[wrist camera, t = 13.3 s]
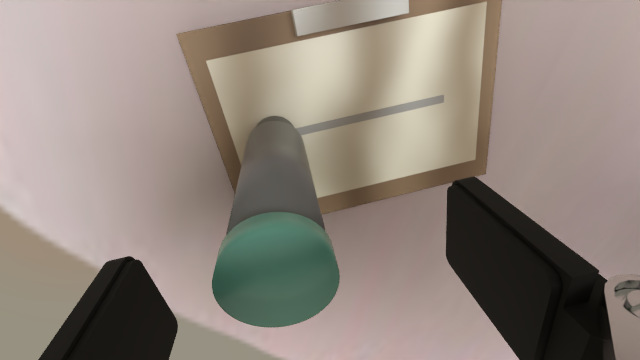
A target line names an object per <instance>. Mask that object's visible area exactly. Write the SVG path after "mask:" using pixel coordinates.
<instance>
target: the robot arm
mask: <svg viewBox="0 0 640 360" xmlns="http://www.w3.org/2000/svg"><path fill="white" fill-rule="evenodd" d="M446 257H447V260H448V262H449V264H450V266H451V267H452V269H453V270H454V271H455V273H456V274H457V275H458V277H459V278H460V279H461V281H462V282H463V283H464V285H465V286H466V288H467V289H468V290H469V292H470V293H471V294H472V296H473V297H474V298H475V300H476V301H477V303H478V304H479V305H480V307H481V308H482V309H483V311H484V312H485V313H486V315H487V316H488V317H489V319H490V320H491V322H492V323H493V324H494V326H495V327H496V328H497V330H498V331H499V332H500V334H501V335H502V336H503V338H504V339H505V341H506V342H507V343H508V345H509V346H510V347H511V349H512V350H513V351H514V353H515V354H516V356H517V357H518V358H519V360H640V276H639V275H632V274H631V275H618V276H615V277H612V278H610V279H609V280H608V281H607V280H606V279H605V278H604V277H602V276H601V275H600V274H598V273H599V270H598V269H596V268H595V267H594V266H592V265H591V264H590V263H588V262H587V261H586V260H584V259H583V258H582V257H581V256H579V255H578V254H577V253H575V252H574V251H573V250H571V249H570V248H569V247H567V246H566V245H565V244H563V243H562V242H561V241H559V240H558V239H557V238H555V237H554V236H553V235H551V234H550V233H549V232H547V231H546V230H545V229H544V228H542V227H541V226H540V225H538V224H537V223H536V222H534V221H533V220H532V219H530V218H529V217H528V216H526V215H525V214H524V213H522V212H521V211H520V210H518V209H517V208H516V207H514V206H513V205H512V204H510V203H509V202H508V201H506V200H505V199H504V198H503V197H501V196H500V195H499V194H497V193H496V192H495V191H493V190H492V189H491V188H489V187H488V186H487V185H485V184H484V183H483V182H481V181H480V180H479V179H477V178H476V177H468V178H464V179H459V180H455V181H454V182H453V183H452V186H450V187H449V188H448V190H447V228H446ZM177 328H178V325H177V320H176V318H175V316H174V314H173V313H172V311H171V310H170V308H169V306H168V305H167V303H166V301H165V300H164V298H163V297H162V295H161V293H160V292H159V290H158V288H157V287H156V285H155V284H154V282H153V280H152V279H151V277H150V275H149V274H148V272H147V271H146V269H145V267H144V266H143V264H142V263H141V261H139V260H135V259H134V258H133V257H129V256H128V257H124V258H119V259H115V260H111V261H108V262H106V263H105V264H104V266H103V267H102V269H101V270H100V272H99V273H98V275H97V276H96V277H95V279H94V281H93V282H92V283H91V285H90V286H89V288H88V289H87V290H86V292H85V293H84V295H83V296H82V298H81V299H80V301H79V302H78V303H77V305H76V306H75V308H74V309H73V311H72V312H71V314H70V315H69V316H68V318H67V320H66V321H65V322H64V324H63V325H62V326H61V328H60V329H59V331H58V332H57V334H56V335H55V337H54V338H53V340H52V341H51V342H50V344H49V345H48V347H47V348H46V350H45V351H44V353H43V354H42V355H41V357H40V358H39V360H169V357H170V353H171V350H172V347H173V343H174V340H175V337H176V333H177Z"/></svg>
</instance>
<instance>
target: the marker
mask: <svg viewBox="0 0 640 360" xmlns="http://www.w3.org/2000/svg"><path fill="white" fill-rule="evenodd" d="M339 278H340V276H339V269H338V265H337V261H336V258H335V254H334V250H333V246H332V243H331V240H330V238H329V236H328V235H327V233H326V232H325V227H324V223H323V219H322V215H321V211H320V207H319V203H318V199H317V195H316V191H315V187H314V183H313V179H312V175H311V170H310V166H309V162H308V158H307V154H306V150H305V146H304V142H303V139H302V137H301V135H300V133H299V132H298V131H297V130H296V129H295V128H294V126H293V125H292V123H291V122H290V121H288V120H287V119H285V118H283V117H280V116H270V117H266V118H264V119H263V120H261V121H260V122H259V123H258V124H257V126H256V128H254V129H253V131H252V132H251V133H250V135H249V137H248V139H247V143H246V147H245V152H244V157H243V161H242V166H241V170H240V175H239V179H238V184H237V188H236V193H235V197H234V202H233V206H232V211H231V216H230V220H229V225H228V229H227V234H226V237H225V238H224V240H223V242H222V243H221V246H220V249H219V253H218V257H217V261H216V266H215V270H214V274H213V279H212V289H213V294H214V296H215V299H216V301H217V302H218V304H219V305H220V307H221V308H222V309H223V310H224V311H225V312H226V313H227V314H229V315H230V316H232V317H233V318H235V319H237V320H239V321H241V322H244V323H246V324H250V325H254V326H260V327H283V326H289V325H293V324H297V323H300V322H302V321H305V320H307V319H309V318H311V317H313V316H315V315H316V314H318V313H319V312H320V311H322V310H323V309H324V308H325V307H326V306H327V305H328V304H329V303H330V302H331V300H332V299H333V297H334V296H335V294H336V291H337V289H338V285H339Z"/></svg>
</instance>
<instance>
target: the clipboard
mask: <svg viewBox="0 0 640 360" xmlns="http://www.w3.org/2000/svg"><path fill="white" fill-rule="evenodd" d="M501 5H502V0H339V1H334V2H329V3H324V4H319V5H314V6H309V7H305V8H300V9H295V10H291V11H287V12H282V13H277V14H272V15H267V16H262V17H257V18H252V19H248V20H243V21H238V22H233V23H228V24H223V25H218V26H213V27H208V28H204V29H199V30H194V31H189V32H184V33H179V34H177V37H178V40H179V43H180V45H181V48H182V51H183V53H184V56H185V59H186V62H187V64H188V67H189V70H190V72H191V75H192V78H193V81H194V83H195V86H196V89H197V91H198V94H199V97H200V100H201V102H202V105H203V108H204V110H205V113H206V116H207V119H208V121H209V124H210V127H211V129H212V132H213V135H214V138H215V140H216V143H217V146H218V149H219V151H220V154H221V157H222V159H223V162H224V165H225V168H226V170H227V173H228V176H229V178H230V181H231V184H232V187H233V189H234V192H235V193H236V188H237V184H238V179H239V175H240V170H241V166H242V161H243V157H244V152H245V147H246V143H247V139H248V137H249V135H250V133H251V132H252V131H253V129H254V128H256V126H257V124H258V123H259V122H260V121H261V120H263V119H264V118H266V117H270V116H280V117H283V118H285V119H287V120H288V121H290V122H291V123H292V125H293V126H294V128H295V129H296V130H297V131H298V132H299V133H300V135H301V137H302V139H303V142H304V146H305V150H306V154H307V158H308V162H309V166H310V170H311V175H312V179H313V183H314V187H315V191H316V195H317V199H318V203H319V207H320V211H321V214H325V213H329V212H333V211H337V210H342V209H346V208H350V207H354V206H358V205H362V204H366V203H370V202H374V201H378V200H382V199H386V198H390V197H394V196H398V195H402V194H406V193H410V192H414V191H418V190H422V189H426V188H430V187H434V186H438V185H443V184H447V183H451V182H454V181H455V180H459V179H464V178H468V177H475V176H479V175H483V174H486V166H487V156H488V145H489V134H490V123H491V113H492V102H493V91H494V80H495V70H496V59H497V48H498V37H499V26H500V16H501Z"/></svg>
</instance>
